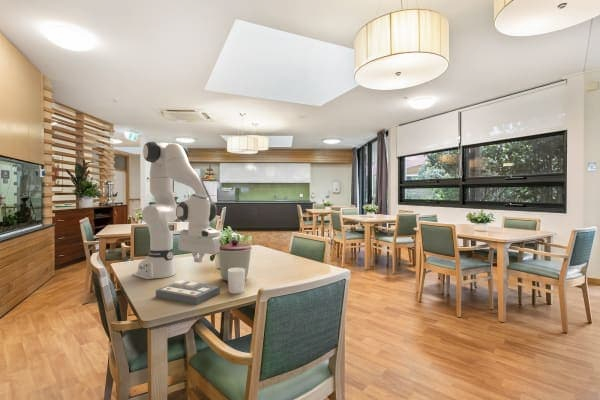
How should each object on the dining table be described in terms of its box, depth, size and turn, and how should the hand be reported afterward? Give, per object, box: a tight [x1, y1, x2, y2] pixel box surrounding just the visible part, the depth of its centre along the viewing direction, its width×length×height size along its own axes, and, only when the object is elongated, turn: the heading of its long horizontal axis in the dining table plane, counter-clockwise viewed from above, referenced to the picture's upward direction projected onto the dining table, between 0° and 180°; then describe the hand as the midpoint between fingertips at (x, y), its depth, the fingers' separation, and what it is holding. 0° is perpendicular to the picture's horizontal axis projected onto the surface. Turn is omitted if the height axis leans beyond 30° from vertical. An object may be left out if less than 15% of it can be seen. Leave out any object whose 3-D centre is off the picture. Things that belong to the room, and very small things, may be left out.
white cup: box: [227, 268, 246, 295], centre depth 135 cm, size 8×8×10 cm
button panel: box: [155, 281, 221, 306], centre depth 128 cm, size 22×15×3 cm
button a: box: [173, 279, 188, 287], centre depth 133 cm, size 4×4×2 cm
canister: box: [217, 238, 253, 282], centre depth 154 cm, size 18×18×21 cm
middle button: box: [185, 281, 200, 289], centre depth 130 cm, size 4×4×2 cm
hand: (197, 262), depth 129 cm, fingers closed
